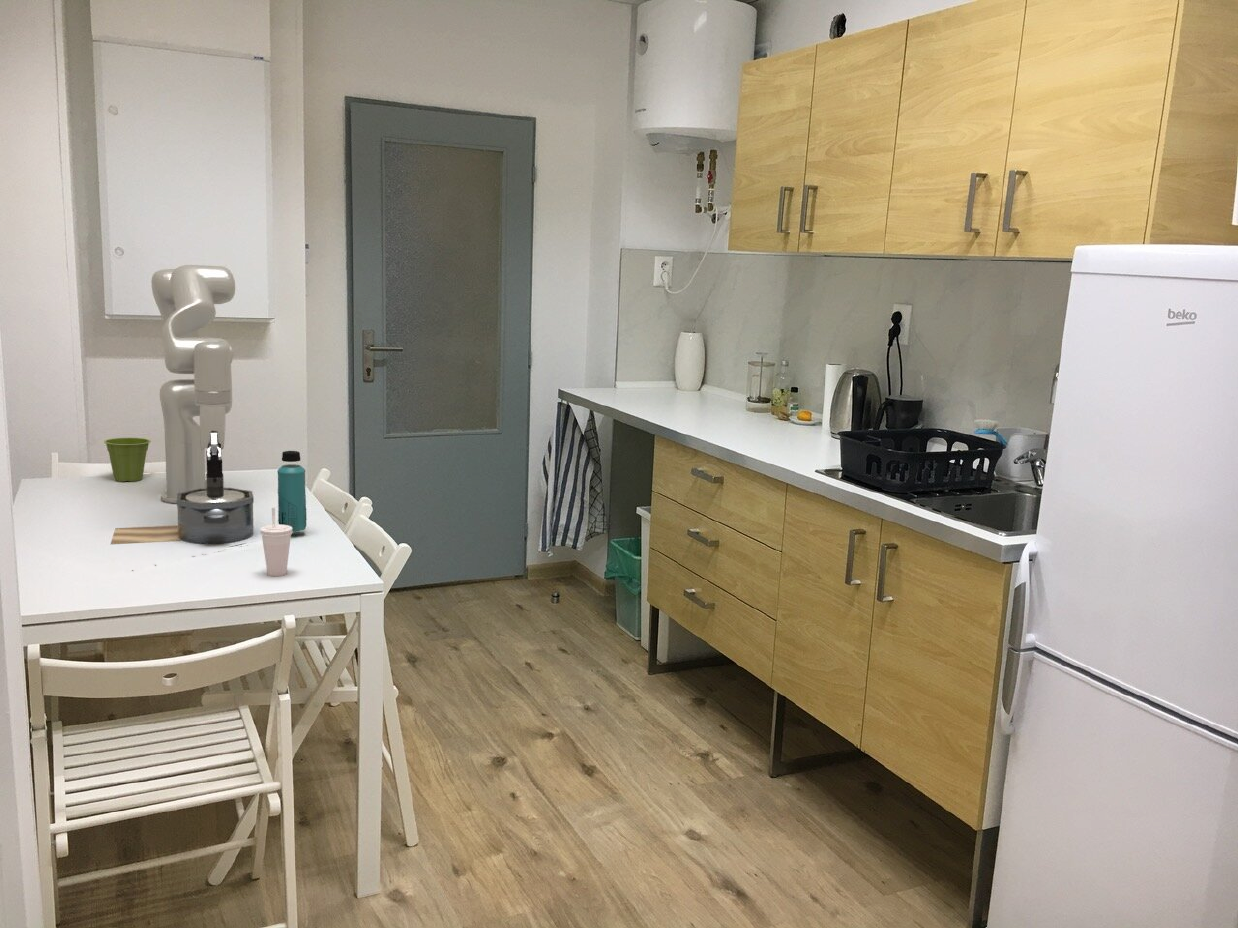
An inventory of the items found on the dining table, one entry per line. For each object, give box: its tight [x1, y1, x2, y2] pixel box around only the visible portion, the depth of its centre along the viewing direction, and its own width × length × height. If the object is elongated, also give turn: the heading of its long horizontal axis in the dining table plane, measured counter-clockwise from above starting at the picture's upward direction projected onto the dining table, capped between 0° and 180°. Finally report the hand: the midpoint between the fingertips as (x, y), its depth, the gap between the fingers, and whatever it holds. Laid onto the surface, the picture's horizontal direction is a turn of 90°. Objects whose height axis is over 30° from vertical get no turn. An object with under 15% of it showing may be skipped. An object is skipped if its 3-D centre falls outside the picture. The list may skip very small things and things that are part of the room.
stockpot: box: [176, 487, 255, 548], centre depth 232 cm, size 21×16×10 cm
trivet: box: [110, 525, 182, 545], centre depth 230 cm, size 14×14×1 cm
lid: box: [186, 472, 244, 503], centre depth 231 cm, size 12×12×6 cm
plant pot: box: [103, 437, 151, 483], centre depth 287 cm, size 12×12×11 cm
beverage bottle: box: [277, 450, 308, 533], centre depth 238 cm, size 6×7×20 cm
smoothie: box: [259, 506, 294, 577], centre depth 209 cm, size 6×6×14 cm
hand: (214, 472), depth 230 cm, fingers open, 9 cm apart
